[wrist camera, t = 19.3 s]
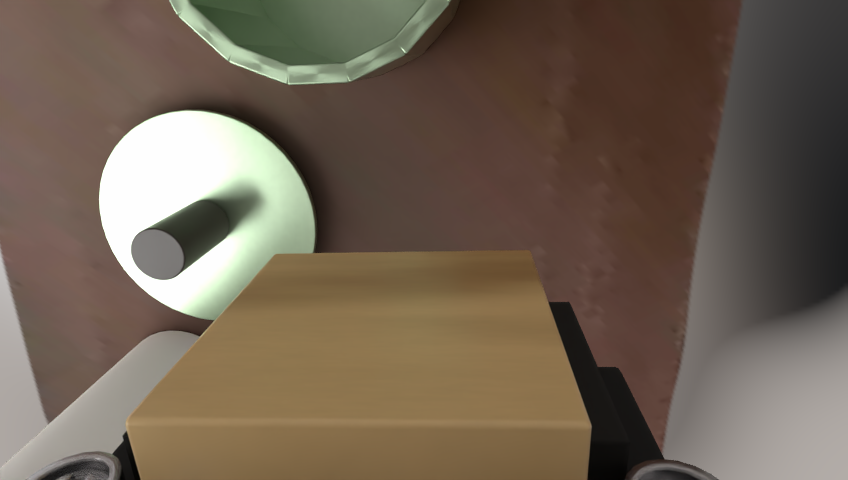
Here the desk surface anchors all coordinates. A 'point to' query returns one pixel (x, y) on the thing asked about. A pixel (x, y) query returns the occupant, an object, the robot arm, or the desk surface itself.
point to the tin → (318, 35)
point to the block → (373, 377)
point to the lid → (202, 207)
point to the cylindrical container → (102, 406)
